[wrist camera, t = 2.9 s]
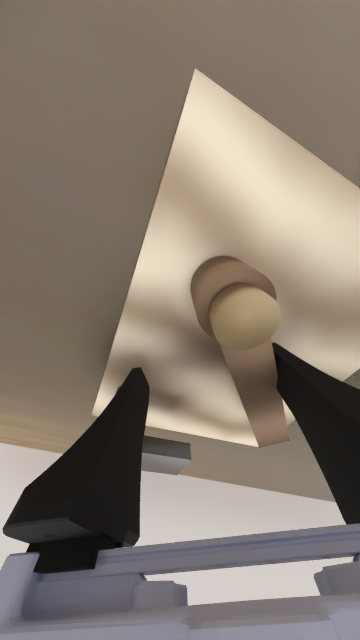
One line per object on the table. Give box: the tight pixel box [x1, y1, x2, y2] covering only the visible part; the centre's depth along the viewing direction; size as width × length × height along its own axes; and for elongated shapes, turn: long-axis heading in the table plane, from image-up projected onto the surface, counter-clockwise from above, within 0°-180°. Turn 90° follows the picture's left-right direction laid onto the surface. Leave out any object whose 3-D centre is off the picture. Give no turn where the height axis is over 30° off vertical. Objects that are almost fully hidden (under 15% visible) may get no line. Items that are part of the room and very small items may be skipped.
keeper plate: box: [92, 69, 360, 475], centre depth 12 cm, size 23×20×6 cm
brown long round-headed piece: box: [190, 256, 290, 448], centre depth 12 cm, size 15×4×3 cm, turn 23°
